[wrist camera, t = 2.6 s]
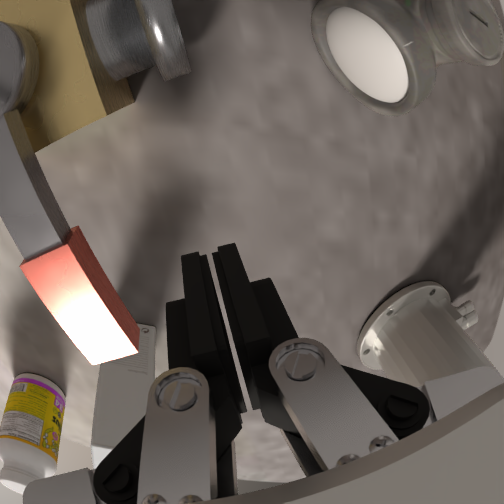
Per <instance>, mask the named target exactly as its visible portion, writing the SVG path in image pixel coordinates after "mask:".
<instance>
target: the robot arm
mask: <svg viewBox="0 0 504 504" xmlns="http://www.w3.org/2000/svg"><path fill="white" fill-rule="evenodd" d="M212 256H213V260H214V264H215V268H216V273H217V277H218V281H219V285H220V289H221V293H222V297H223V301H224V305H225V309H226V313H227V317H228V321H229V325H230V329H231V332H232V336H233V340H234V344H235V347H236V351H237V355H238V359H239V362H240V366H241V369H242V373H243V377H244V380H245V384H246V387H247V391H248V394H249V398H250V401H251V405H252V408H253V410H256V409H261V412H262V416H263V418H264V419H265V422H266V423H269V424H271V425H273V426H276V427H278V428H280V431H281V433H282V435H283V437H284V439H285V441H286V442H287V444H288V446H289V448H290V450H291V451H292V453H293V455H294V457H295V458H296V460H297V462H298V464H299V466H300V467H301V469H302V471H303V472H304V474H305V476H306V478H302V479H299V480H296V481H292V482H289V483H285V484H282V485H278V486H275V487H271V488H267V489H262V490H258V491H254V492H250V493H246V494H241V495H238V483H237V469H236V453H235V442H234V438H235V437H236V436H237V434H238V433H239V432H240V430H241V429H242V425H241V424H242V419H241V415H240V413H244V412H247V409H246V405H245V402H244V398H243V394H242V390H241V387H240V383H239V379H238V375H237V371H236V367H235V364H234V360H233V356H232V352H231V348H230V344H229V340H228V336H227V331H226V327H225V323H224V320H223V316H222V312H221V309H220V305H219V301H218V297H217V294H216V290H215V286H214V282H213V278H212V275H211V271H210V267H209V263H208V259H207V255H202V256H200V255H199V252H194V253H190V254H186V255H182V256H181V262H182V273H183V284H184V295H185V298H184V299H180V300H176V301H171V302H167V303H166V326H167V347H168V364H169V370H168V371H166V372H164V373H162V374H161V375H160V376H158V377H157V378H156V379H155V381H154V382H153V383H152V385H151V387H150V390H149V393H148V401H147V408H146V414H145V416H144V417H143V418H142V419H141V420H140V421H139V422H138V423H137V424H136V425H135V426H134V427H133V428H132V429H131V431H130V432H129V433H128V434H127V435H126V436H125V437H124V438H123V439H122V440H121V441H120V442H119V443H118V444H117V445H116V446H115V448H114V449H113V450H112V451H111V452H110V453H109V454H108V455H107V456H106V457H105V458H104V459H103V460H102V461H101V462H100V464H99V465H98V466H97V468H96V469H93V470H90V469H88V468H84V469H80V470H76V471H72V472H68V473H65V474H60V475H56V476H51V477H47V478H42V479H37V480H34V481H32V482H30V483H29V484H28V485H27V486H26V487H25V490H24V492H23V504H504V378H503V377H502V376H501V375H500V373H499V372H498V370H497V369H496V368H495V367H494V365H493V364H492V363H491V362H490V361H489V359H488V358H487V357H486V356H485V355H484V353H483V352H482V351H481V350H480V348H479V347H478V346H477V345H476V344H475V342H474V341H473V340H472V339H471V338H470V337H469V335H468V334H467V333H466V332H465V331H464V329H467V328H469V327H470V326H472V325H474V324H475V323H477V321H478V316H477V313H476V312H475V310H474V305H473V303H472V301H470V300H468V301H466V302H465V303H463V304H461V305H460V306H459V307H455V306H453V305H452V304H451V301H450V296H449V294H448V292H447V290H446V289H445V288H444V287H443V286H442V285H440V284H438V283H437V282H432V281H424V282H419V283H416V284H412V285H410V286H408V287H406V288H404V289H402V290H400V291H399V292H397V293H395V294H394V295H393V296H391V297H390V298H389V299H387V300H386V301H385V302H384V303H383V304H382V305H381V306H380V307H379V308H378V309H377V310H376V311H375V312H374V313H373V314H372V316H371V317H370V318H369V319H368V321H367V322H366V324H365V325H364V327H363V329H362V331H361V333H360V335H359V339H358V342H357V353H358V356H359V358H360V360H361V361H362V363H363V364H364V365H365V366H366V367H368V368H370V369H374V370H384V372H385V374H386V375H387V377H388V378H389V379H387V378H384V377H380V376H377V375H373V374H370V373H366V372H363V371H360V370H356V369H353V368H350V367H346V366H343V365H340V364H339V362H338V361H337V360H336V359H335V357H334V356H333V355H332V353H331V352H330V351H329V350H328V348H326V347H325V346H324V345H323V344H322V343H320V342H318V341H316V340H314V339H309V338H299V337H298V335H297V333H296V331H295V329H294V327H293V324H292V322H291V320H290V318H289V316H288V314H287V312H286V310H285V307H284V305H283V303H282V301H281V299H280V297H279V295H278V293H277V290H276V288H275V286H274V284H273V282H272V280H271V278H266V279H262V280H258V281H254V282H249V279H248V276H247V274H246V271H245V268H244V266H243V263H242V260H241V258H240V255H239V252H238V250H237V247H236V244H235V243H232V244H227V245H223V246H219V247H218V252H214V253H212Z"/></svg>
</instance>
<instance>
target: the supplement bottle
mask: <svg viewBox="0 0 504 504" xmlns="http://www.w3.org/2000/svg"><path fill="white" fill-rule="evenodd" d="M65 403H66V400H65V396H64V394H63V392H62V391H61V389H60V388H59V387H58V386H57V385H56V384H54V383H53V382H52V381H50V380H48V379H46V378H44V377H42V376H39V375H35V374H30V373H24V374H20V375H18V376H17V377H16V378H15V379H14V381H13V384H12V387H11V390H10V393H9V396H8V400H7V403H6V407H5V410H4V414H3V418H2V422H1V426H0V459H1V461H2V462H3V463H4V467H3V468H2V470H1V472H0V482H1V483H2V484H3V485H4V486H5V487H7V488H9V489H11V490H13V491H15V492H17V493H20V494H22V495H23V492H24V490H25V487H26V486H27V485H28V484H29V483H30V482H32V481H34V480H37V479H42V478H47V477H51V476H53V475H54V473H55V472H56V469H57V459H58V451H59V443H60V436H61V429H62V423H63V416H64V410H65Z"/></svg>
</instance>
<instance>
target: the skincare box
mask: <svg viewBox="0 0 504 504" xmlns="http://www.w3.org/2000/svg"><path fill="white" fill-rule="evenodd" d="M136 324H137V325H138V327H139V328H140V336H139V350H138V353H135V354H132V355H128V356H124V357H121V358H117V359H113V360H110V361H106V362H102V363H101V365H100V371H99V377H98V384H97V392H96V400H95V408H94V417H93V427H92V439H91V454H92V461H93V469H96V468H97V466H98V465H99V464H100V462H101V461H102V460H103V459H104V458H105V457H106V456H107V455H108V454H109V453H110V452H111V451H112V450H113V449H114V448H115V446H116V445H117V444H118V443H119V442H120V441H121V440H122V439H123V438H124V437H125V436H126V435H127V434H128V433H129V432H130V431H131V429H132V428H133V427H134V426H135V425H136V424H137V423H138V422H139V421H140V420H141V419H142V418H143V417H144V416H145V414H146V408H147V401H148V393H149V390H150V387H151V385H152V383H153V382H154V381H155V339H156V328H155V327H153V326H148V325H143V324H138V323H136Z"/></svg>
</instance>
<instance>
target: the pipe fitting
mask: <svg viewBox="0 0 504 504" xmlns="http://www.w3.org/2000/svg"><path fill="white" fill-rule="evenodd" d="M311 29H312V35H313V39H314V42H315V44H316V47H317V49H318V51H319V53H320V55H321V57H322V59H323V61H324V62H325V64H326V65H327V67H328V68H329V70H330V71H331V72H332V73H333V75H334V76H335V77H336V78H337V80H338V81H339V82H340V83H341V84H342V85H343V87H344V88H345V89H346V90H347V91H348V92H349V93H350V94H351V95H352V96H353V97H355V98H356V99H357V100H358V101H359V102H361V103H362V104H363V105H364V106H366V107H367V108H369V109H371V110H372V111H374V112H377V113H379V114H382V115H387V116H401V115H404V114H407V113H409V112H410V111H411V110H413V109H414V108H415V107H416V106H417V105H419V104H420V103H421V102H422V101H424V100H425V99H426V98H427V97H428V96H429V95H430V93H431V92H432V90H433V88H434V85H435V81H436V68H438V67H439V66H440V65H442V64H448V63H458V62H462V61H465V62H466V63H468V64H470V65H474V66H490V65H494V64H496V63H498V62H499V60H500V59H501V57H502V54H503V50H504V34H503V29H502V25H501V22H500V19H499V16H498V14H497V11H496V9H495V7H494V5H493V4H492V2H491V0H321V1H320V2H319V3H318V4H317V5H316V6H315V7H314V9H313V12H312V16H311Z"/></svg>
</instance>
